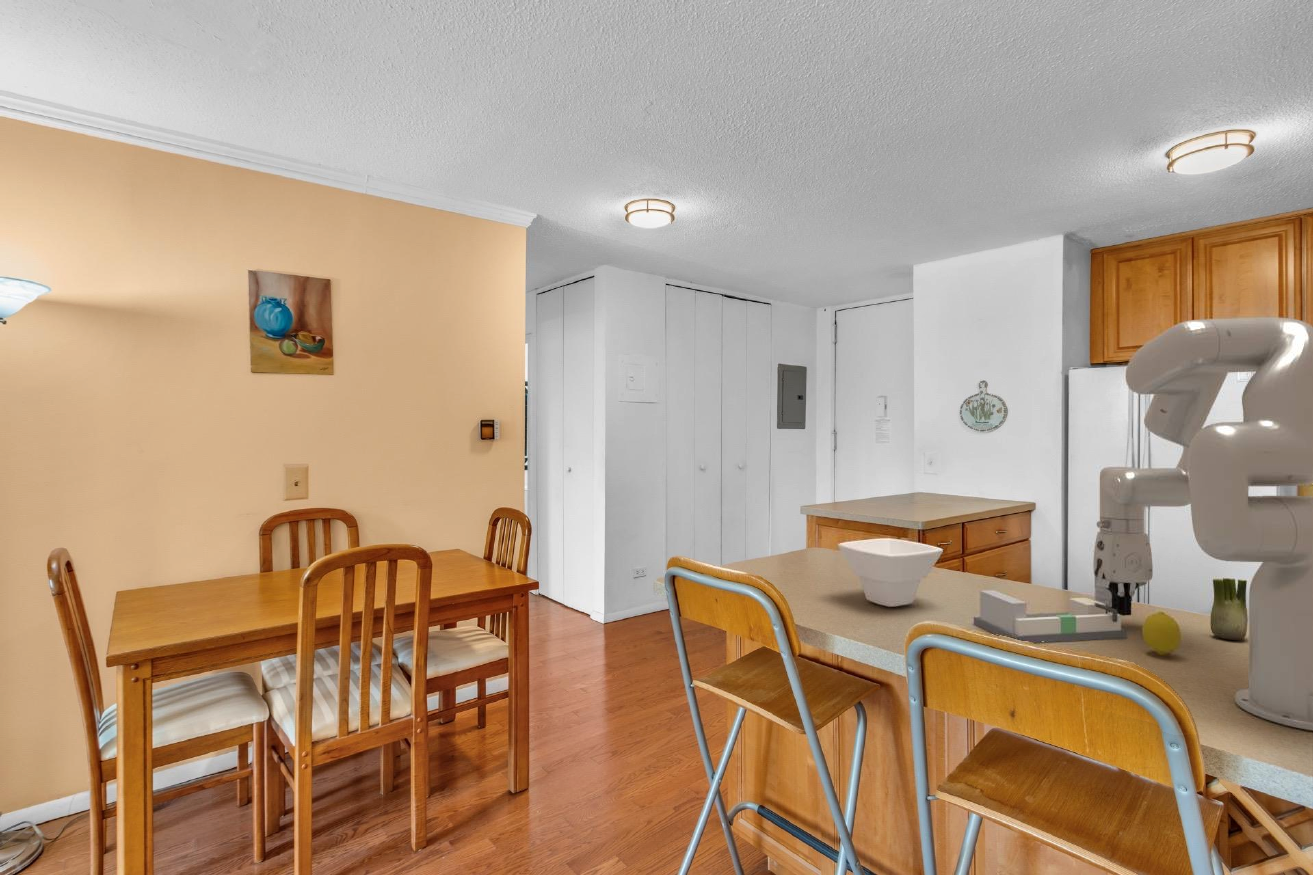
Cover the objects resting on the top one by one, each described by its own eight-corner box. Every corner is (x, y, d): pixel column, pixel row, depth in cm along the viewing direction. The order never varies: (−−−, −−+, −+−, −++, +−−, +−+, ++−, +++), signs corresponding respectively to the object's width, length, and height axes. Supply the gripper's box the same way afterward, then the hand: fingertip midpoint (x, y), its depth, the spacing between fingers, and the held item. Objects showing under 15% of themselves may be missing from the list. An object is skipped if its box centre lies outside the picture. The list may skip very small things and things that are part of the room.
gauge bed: (1126, 637, 127) (1126, 600, 127) (1015, 644, 124) (1015, 605, 124) (1075, 618, 140) (1075, 584, 140) (973, 624, 137) (973, 589, 137)
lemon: (1165, 662, 114) (1165, 617, 114) (1135, 651, 119) (1134, 608, 119) (1188, 658, 115) (1188, 614, 115) (1157, 648, 121) (1157, 606, 120)
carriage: (1127, 630, 126) (1127, 609, 126) (1106, 631, 126) (1106, 610, 125) (1088, 616, 136) (1088, 596, 136) (1069, 617, 135) (1069, 597, 135)
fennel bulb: (1246, 637, 126) (1246, 577, 126) (1251, 645, 122) (1251, 582, 122) (1207, 633, 129) (1207, 573, 129) (1211, 639, 125) (1211, 578, 125)
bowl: (831, 599, 157) (830, 543, 157) (890, 590, 165) (890, 536, 165) (888, 620, 140) (887, 556, 140) (951, 608, 148) (951, 548, 148)
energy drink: (1128, 610, 145) (1128, 558, 145) (1113, 613, 143) (1112, 560, 143) (1104, 604, 150) (1104, 553, 150) (1089, 607, 148) (1089, 555, 148)
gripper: (1103, 530, 129) (1103, 620, 129) (1169, 527, 131) (1169, 617, 131) (1075, 524, 136) (1075, 610, 137) (1137, 522, 138) (1137, 607, 139)
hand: (1121, 613), depth 134 cm, fingers closed
